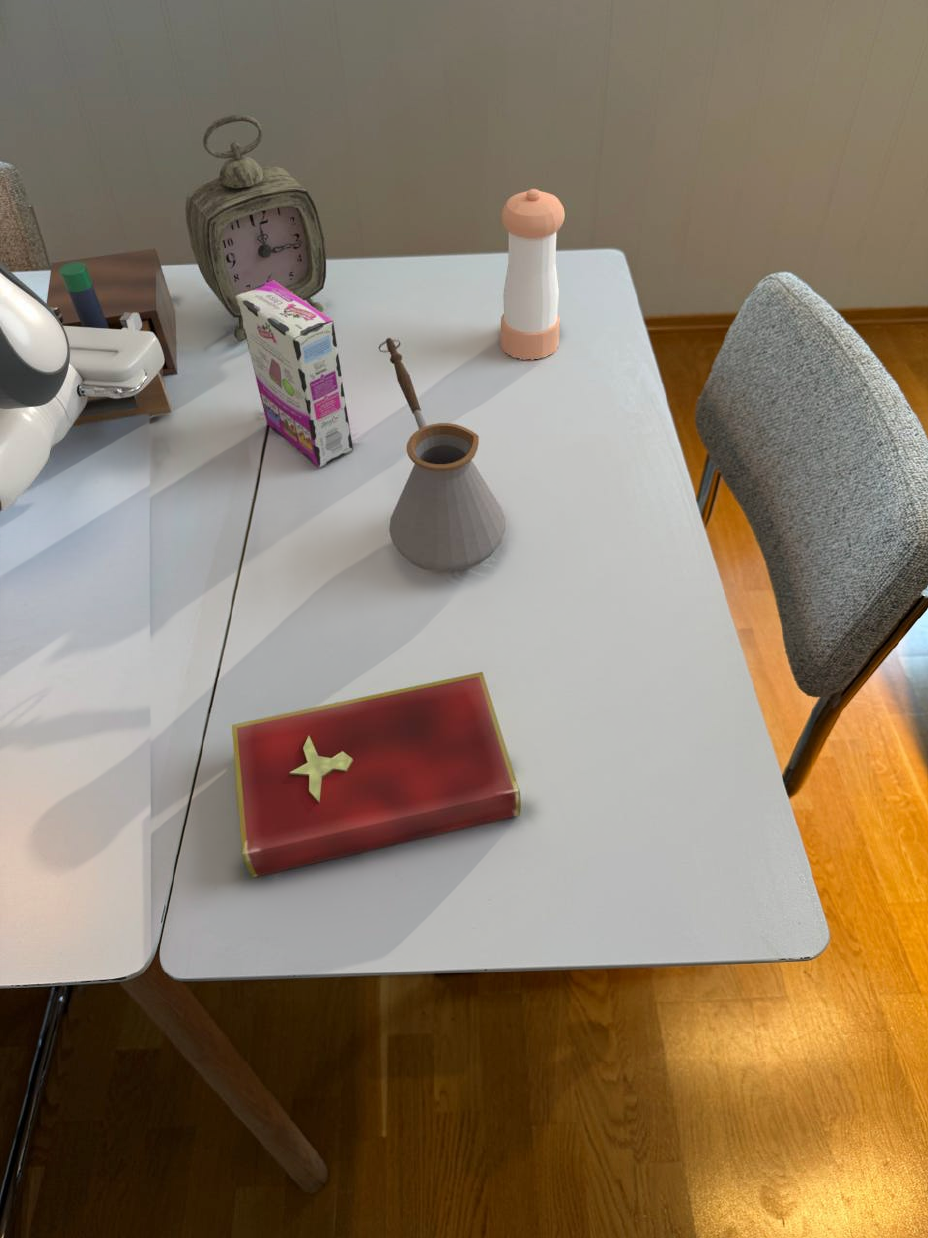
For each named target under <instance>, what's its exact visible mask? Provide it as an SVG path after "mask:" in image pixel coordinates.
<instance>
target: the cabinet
mask: <svg viewBox="0 0 928 1238" xmlns="http://www.w3.org/2000/svg"><path fill="white" fill-rule="evenodd" d="M73 262H81V263H83V264H85V265H86V268H87V270H88V273H89V276H90V278H91V281H92V285H93V287H94V290H95V293H96V295H97V298H98V301H99V303H100V306H101V308H102V311H103V314H104V316H105V319H106V322H107V324H113V323H120V318H121V316H123V315H124V312H131V313H139V315H140V318H141V319H147V318H151V320H152V323H153V326H154V329H155V331H156V334H157V337H158V340H159V343H160V345H161V348H162V351H163V355H164V360H165V362H164V365H163V377H166V376H167V377H168V376H172V375H173V376H174V375H178V357H177V356H178V353H177V328H176V325H177V324H176V309H175V307H174V303H173V300H172V297H171V293H170V291H169V286H168V284H167V280H166V278H165V274H164V271H163V268H162V264H161V262H160V258H159V255H158V251H157V249H156V248H148V249H140V250H134V251H128V252H127V251H126V252H120V253H114V254H113V253H112V254H107V255H106V254H105V255H99V256H93V257H85V258H78V259H72V260H63V261H57V262H51V266H50V272H49V273H50V275H49V280H48V281H49V283H48V288H47V297H46V302H45V303H46V304H47V305H48V306H49V307H53V308H59V309H60V314H61V315H62V316H63V322H62V325H63V326H74V327H82V324H81V322H80V319H79V317H78V314H77V312H76V309H75V307H74V304H73V302H72V299H71V297H70V295H69V292H68V290H67V288H66V286H65V284H64V281H63V279H62V276H61V274H60V269H61V268H62V267H63V266H64V265H66V264H69V263H73Z"/></svg>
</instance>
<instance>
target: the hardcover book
mask: <svg viewBox="0 0 928 1238" xmlns="http://www.w3.org/2000/svg"><path fill="white" fill-rule="evenodd" d="M499 723H500V722H499V719H498V717H497V714H496V711H495V707H494V704H493V702H492V698H491V695H490V691H489V688H488V685H487V682H486V679H485V675H484V672H483V671H480V672H475V673H471V674H464V675H461V676H456V677H451V678H447V679H442V680H436V681H433V682H428V683H423V684H418V685H414V686H413V685H412V686H409V687H404V688H400V689H399V688H398V689H395V690H390V691H385V692H381V693H376V694H371V695H366V696H362V697H357V698H352V699H346V700H341V701H338V702H333V703H328V704H323V705H318V706H314V707H310V708H305V709H300V710H296V711H290V712H286V713H281V714H277V715H271V716H267V717H263V718H257V719H253V720H252V719H251V720H248V721H244V722H239V723H235V724H231V733H232V734H231V735H232V745H233V756H234V767H235V779H236V780H235V781H236V782H235V783H236V791H237V792H236V793H237V803H238V817H239V828H240V829H239V830H240V840H241V842H240V843H241V853H242V854H241V855H242V858H243V861H244V863H245V866H246V868H247V870H248V872H249V874H250V875H251V877H252V878H257V877H261V876H265V875H270V874H274V873H277V872H282V871H286V870H291V869H295V868H300V867H303V866H308V865H313V864H316V863H320V862H325V861H328V860H329V861H330V860H334V859H338V858H342V857H347V856H350V855H356V854H359V853H364V852H369V851H372V850H377V849H381V848H385V847H390V846H394V845H398V844H402V843H407V842H411V841H415V840H421V839H424V838H428V837H432V836H437V835H441V834H446V833H449V832H455V831H458V830H459V831H460V830H462V829H463V830H464V829H466V828H471V827H475V826H479V825H484V824H488V823H493V822H496V821H500V820H506V819H509V818H514V817H518V816H520V815H521V806H522V805H521V804H522V803H521V802H522V801H521V792H520V787H519V784H518V781H517V778H516V775H515V773H514V772H515V771H514V768H513V765H512V762H511V760H510V755H509V752H508V750H507V749H508V748H507V746H506V743H505V740H504V736H503V734H502V730H501V727H500V724H499Z"/></svg>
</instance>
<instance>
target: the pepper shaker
mask: <svg viewBox="0 0 928 1238" xmlns="http://www.w3.org/2000/svg"><path fill="white" fill-rule="evenodd" d="M565 216H566V215H565V209H564V206H563V204H562V203H561V201H560V200H559V198H558V197H557V196H555V195H554V194H552V193H549V192H546V191H540V190H539V189H538V188H537V189H536V188H530V189H528V190H527V191H522V192H519V193H515V194H514V195H512V196H511V197H509V199H508V200H507V201H506V202H505V204H504V206H503V208H502V212H501V222H502V224H503V226H504V227H505V229H506V231H507V232H508V251H507V253H508V255H507V257H508V259H507V261H508V263H507V269H506V275H505V280H504V286H503V294H502V300H503V314H502V315H501V318H500V346H501V349H502V351H503V352H504V353H505V354H506V353H507V354H506V355H507V356H509V355H511V356H514V357H515V358H514V359H516V358H521V359H524V360H523V361H526V360H525V359H531V360H530V361H535V360H534V359H537V358H542V357H545V356H547V355H549V354H552V353H553V352H554V351H556V352H557V350H558V348H559V346H560V345H559V343H560V325H561V324H560V321H561V317H560V316H559V314H558V307H559V297H560V296H559V293H560V292H559V291H560V290H559V282H558V281H559V280H558V272H557V263H556V255H557V254H556V253H557V232H558V231H559V230H560V229H561V227H562V226H563V224H564V221H565ZM557 347H558V348H557ZM556 349H557V350H556ZM554 353H555V352H554ZM554 353H553V354H554ZM553 354H552V355H553ZM511 356H510V357H511ZM521 359H520V360H521Z"/></svg>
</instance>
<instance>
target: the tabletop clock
mask: <svg viewBox="0 0 928 1238" xmlns="http://www.w3.org/2000/svg"><path fill="white" fill-rule="evenodd" d="M236 122H245V123H246V122H247V123H250V124H252V125H254V126H255V127H256V128H257V130H258V135H257V137H256V138H255V140H253V142H251V143H249V144H247V145H246V146H242V147H241V145H240V143H239V142H237V141H233V142H231V143H230V150H228V151H217V150H213V149H211V148H210V147H209V145H208V141H209V138H210V136H211V135H212V133H213V132H214V131H215V130H217V129H218V128H219V127H222V126H225V125H227V124H228V125H229V124H232V123H236ZM263 131H264V130H263V128H262V126H261V124H260V122H258V120H257V119H255V118H254V117H252V116H251V115H248V114H247V115H246V114H242V113H241V114H231V115H228V116H224V117H221V118H219V119H217V120H214V121H213V122H212V123H211V124H210V125H208V127H207V129H206V130H205V132H204V133H203V138H202V144H203V149H204V150H205V151H206V152H207V153H208V154H209V155H210V156H213V157H214V158H218V159H226V160H225V161H224V162H223V163H224V164H222V167H221V168H220V171H219V177H216V178H213V179H211V180H207V181H206V182H203V183H201V184H199V185H197V186H196V187H194V188H193V189H192V190H190V192H188V193H187V194H186V200H185V219H186V221H185V222H186V225H187V230H188V236H189V242H190V246H191V249H192V252H193V255H194V258H195V261H196V264H197V266H198V269H199V272H200V273H201V276H202V278H203V280H204V281H205V283H206V284H207V286H208V287H209V288H210V290H211V291H212V293H213V294H214V295H215V296H216V298H217V299H218V301H219V302H220V303H221V304H222V305H223V307H224V308H225V309H226V311H227V312H228V313H229V314H230V315H231V316H232V318H233V319H234V318H235V319H238V327H237V328H235V329H234V332H233V336H234V338H235V339H236V340H237V341H239V342H242V341H245V340H246V335H245V331H244V327H243V322H242V317H241V314H240V310H239V306H238V302H237V298H236V296H237V295H239V294H241V293H244V292H246V291H249V290H251V289H253V288H255V287H257V286H260V285H262V284H264V283H267V282H269V281H272V280H274V281H276V282H277V283H278V284H280V285H281V286H283V287H284V288H286V289H287V290H289V291H290V292H292V293H293V294H295V295H296V296H298V297H299V298H301V299H302V300H304V301H305V302H307V303H308V304H310V305H311V306H313V307H314V308H316V309H317V310H319V311H320V312H322V313H323V312H324V307H323V305H322V303H320V302H317V301H315V302H314V300H313V297H314V296H316V295H317V294H319V293H320V292H321V291H322V290H323V289H324V287H325V283H326V278H327V257H326V256H327V255H326V244H325V237H324V234H323V228H322V224H321V221H320V216H319V213H318V210H317V206H316V204H315V202H314V200H313V199H312V197H311V195H310V194H309V191H307V190H306V188H305V187H303V186H302V185H301V184H300V183H299V182H298V181H297V180H296V179H295V178H294V177H293V176H292V175H291V174H290V173H289V172H288V171H286V170H285V169H284V168H283V167H279V166H273V165H272V166H271V165H266V166H260V165H259V163H257V162H256V160H254V159H253V158H252V157H250V156H248V155H247V156H246V154H248V153H251V152H252V151H253V150H255V149H256V148H257V147H258V146H259V144H260V143H261V141H262V139H263V134H264V132H263Z"/></svg>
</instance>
